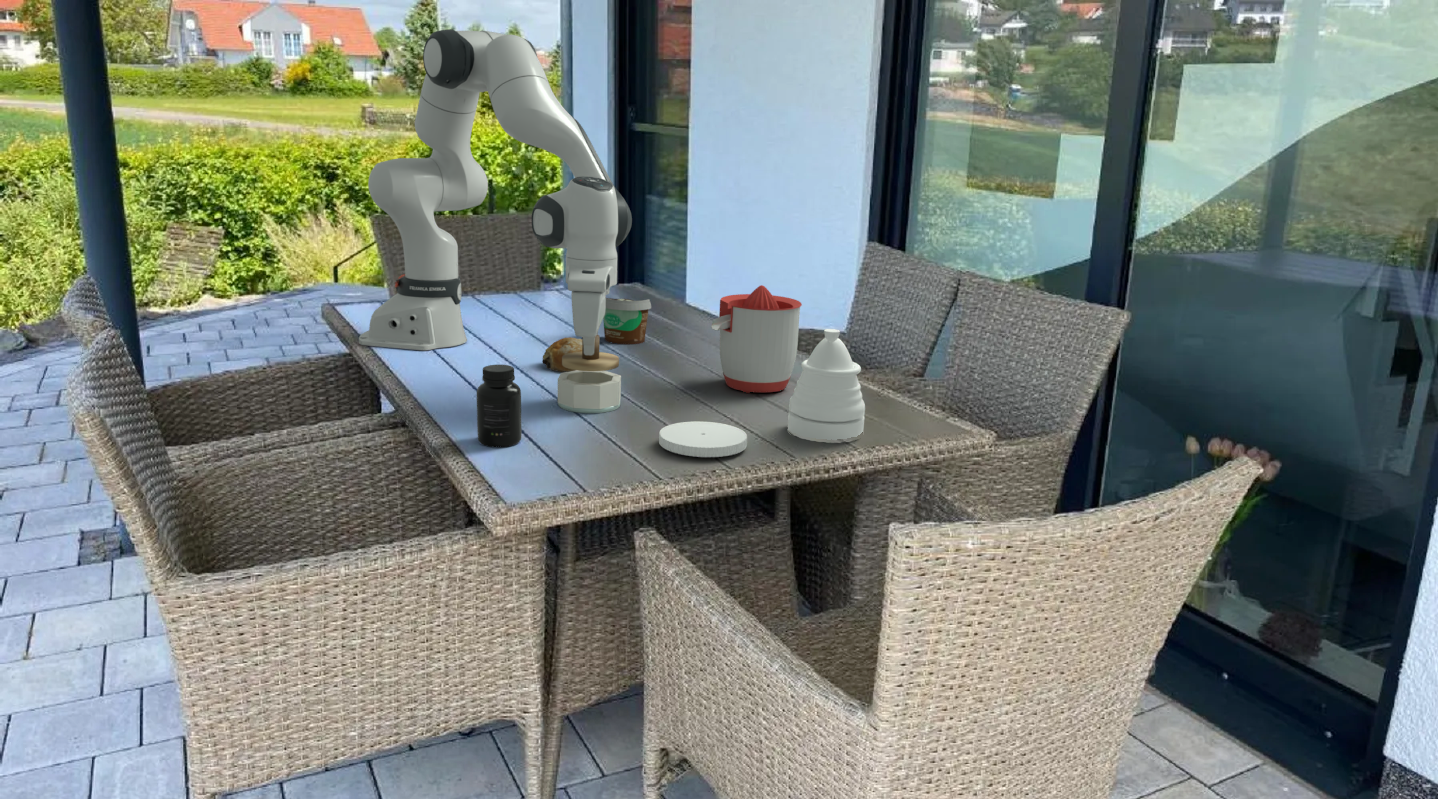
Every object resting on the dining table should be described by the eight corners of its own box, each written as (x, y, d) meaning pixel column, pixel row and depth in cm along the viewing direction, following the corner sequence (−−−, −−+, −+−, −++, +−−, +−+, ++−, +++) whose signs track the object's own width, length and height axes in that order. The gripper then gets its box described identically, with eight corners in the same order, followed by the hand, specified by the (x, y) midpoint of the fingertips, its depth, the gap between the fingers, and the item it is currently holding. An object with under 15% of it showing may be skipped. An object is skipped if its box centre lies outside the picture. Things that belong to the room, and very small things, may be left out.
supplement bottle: (480, 434, 173) (479, 361, 170) (523, 435, 174) (523, 363, 170) (474, 447, 166) (473, 372, 163) (519, 448, 167) (519, 373, 164)
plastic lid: (764, 455, 171) (764, 439, 170) (690, 468, 163) (691, 452, 162) (713, 431, 182) (714, 417, 181) (642, 443, 174) (642, 428, 173)
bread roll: (575, 392, 214) (593, 358, 212) (531, 366, 215) (548, 332, 212) (591, 380, 223) (607, 348, 221) (548, 355, 224) (564, 323, 221)
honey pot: (861, 447, 176) (870, 339, 171) (783, 439, 178) (790, 332, 173) (864, 425, 188) (873, 324, 184) (791, 418, 190) (798, 318, 186)
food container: (588, 341, 242) (589, 297, 239) (601, 336, 248) (602, 293, 245) (638, 348, 238) (639, 303, 235) (650, 343, 243) (651, 299, 241)
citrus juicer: (696, 379, 214) (700, 279, 208) (775, 375, 220) (781, 277, 215) (725, 400, 200) (731, 293, 194) (809, 395, 206) (817, 291, 201)
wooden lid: (619, 371, 186) (619, 342, 185) (560, 370, 185) (560, 341, 184) (618, 358, 196) (619, 330, 194) (563, 357, 195) (563, 329, 193)
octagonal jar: (554, 412, 187) (554, 384, 186) (562, 395, 198) (562, 368, 196) (618, 414, 187) (618, 386, 186) (622, 397, 198) (622, 371, 197)
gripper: (579, 264, 196) (578, 338, 200) (566, 282, 176) (565, 364, 180) (614, 265, 196) (612, 339, 200) (605, 283, 177) (603, 365, 180)
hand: (590, 351), depth 190 cm, fingers closed on wooden lid, 3 cm apart
